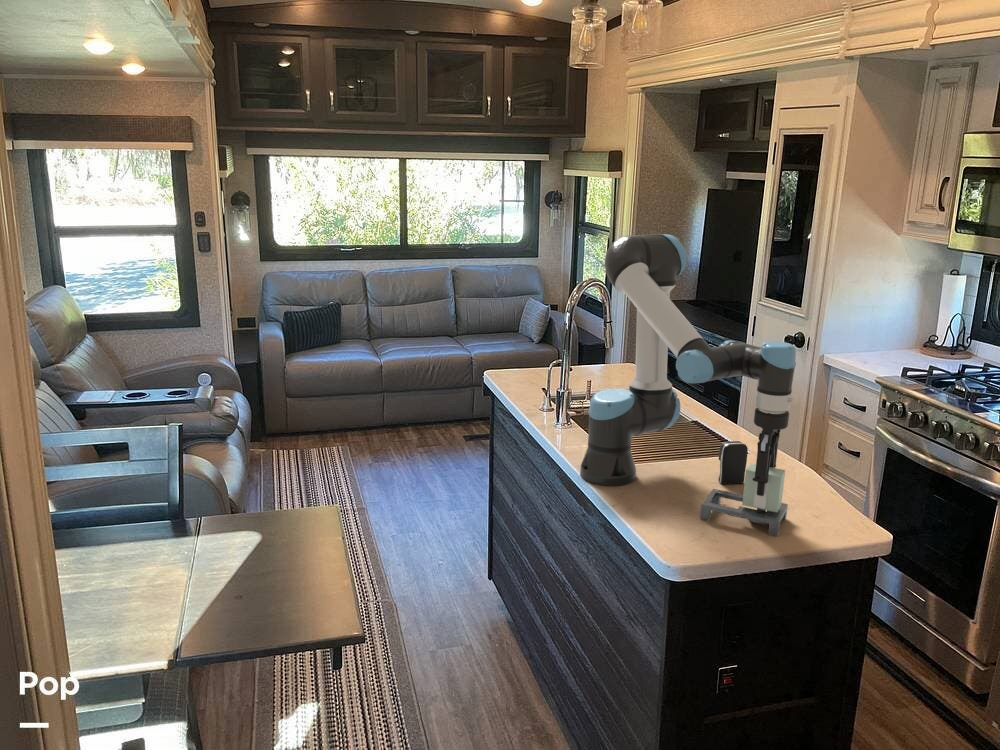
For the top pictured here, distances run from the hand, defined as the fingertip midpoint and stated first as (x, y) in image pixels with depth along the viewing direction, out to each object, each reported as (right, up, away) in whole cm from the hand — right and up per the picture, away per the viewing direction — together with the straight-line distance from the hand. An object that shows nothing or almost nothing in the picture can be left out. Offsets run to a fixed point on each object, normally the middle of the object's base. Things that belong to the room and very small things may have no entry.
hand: (762, 502), depth 187 cm
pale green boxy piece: (0, -4, +1) cm, 4 cm away
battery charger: (0, +1, +25) cm, 25 cm away
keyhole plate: (-4, -5, +3) cm, 7 cm away
